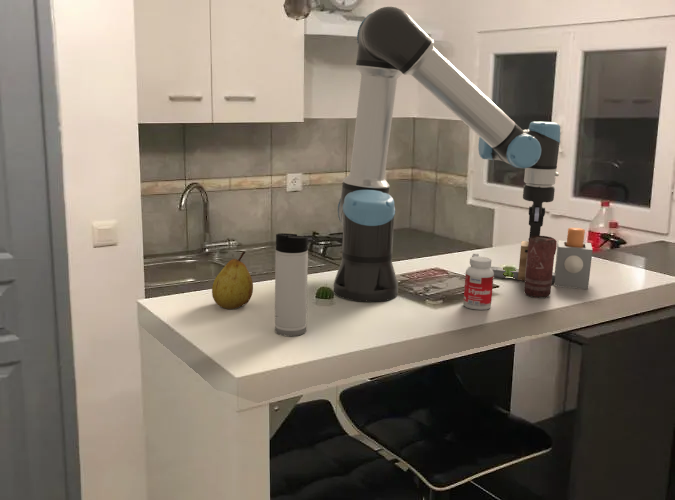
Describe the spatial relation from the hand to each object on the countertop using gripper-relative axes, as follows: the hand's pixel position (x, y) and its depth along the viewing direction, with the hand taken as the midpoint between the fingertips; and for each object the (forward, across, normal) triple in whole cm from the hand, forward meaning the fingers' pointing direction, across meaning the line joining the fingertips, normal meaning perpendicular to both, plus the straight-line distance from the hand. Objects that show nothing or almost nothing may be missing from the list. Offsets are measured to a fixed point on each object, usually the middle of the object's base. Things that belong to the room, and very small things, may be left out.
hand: (530, 274), depth 187 cm
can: (+2, -14, -2) cm, 14 cm away
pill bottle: (+2, -28, +11) cm, 30 cm away
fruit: (+2, -47, +62) cm, 78 cm away
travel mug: (+2, -58, +45) cm, 73 cm away
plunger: (-6, 0, -10) cm, 12 cm away
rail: (+1, 0, +4) cm, 4 cm away
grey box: (+1, 0, -10) cm, 10 cm away
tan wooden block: (+1, 0, 0) cm, 1 cm away
